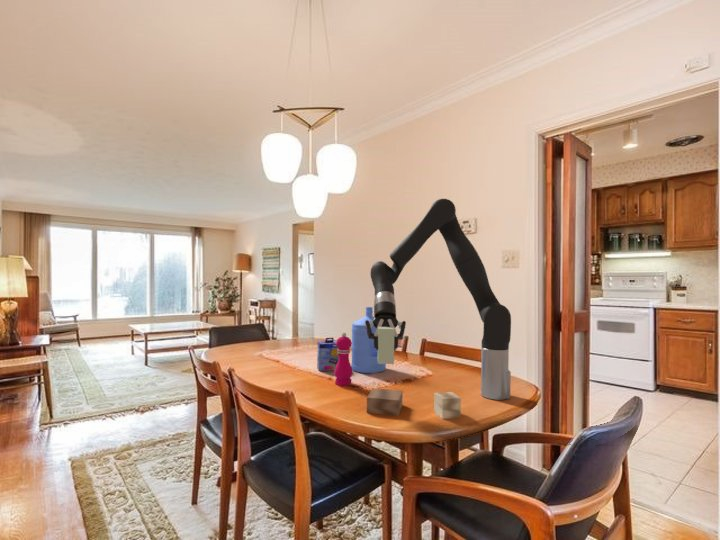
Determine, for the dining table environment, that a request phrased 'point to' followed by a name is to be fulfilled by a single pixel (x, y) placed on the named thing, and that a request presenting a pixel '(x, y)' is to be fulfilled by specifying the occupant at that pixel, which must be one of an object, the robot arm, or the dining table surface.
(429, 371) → the dining table surface
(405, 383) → the dining table surface
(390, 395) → the walnut block
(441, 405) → the maple cube
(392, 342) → the sage block
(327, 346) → the ink cartridge box
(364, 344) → the water jug
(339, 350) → the pepper mill
